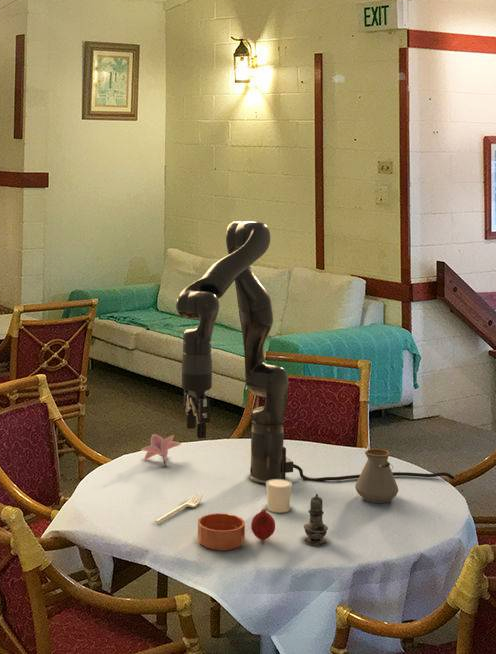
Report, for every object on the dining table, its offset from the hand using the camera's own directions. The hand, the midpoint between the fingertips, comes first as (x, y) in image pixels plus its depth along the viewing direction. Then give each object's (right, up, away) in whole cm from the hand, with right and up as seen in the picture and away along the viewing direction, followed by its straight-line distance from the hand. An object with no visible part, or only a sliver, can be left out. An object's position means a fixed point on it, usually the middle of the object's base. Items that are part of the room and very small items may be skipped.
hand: (196, 433), depth 243 cm
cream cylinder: (+22, -22, +11) cm, 33 cm away
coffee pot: (+49, -22, +14) cm, 56 cm away
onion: (+16, -25, -10) cm, 31 cm away
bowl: (+6, -24, -11) cm, 27 cm away
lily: (-9, -17, +47) cm, 51 cm away
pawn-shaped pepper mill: (+28, -25, -10) cm, 39 cm away
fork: (-4, -22, +8) cm, 24 cm away
